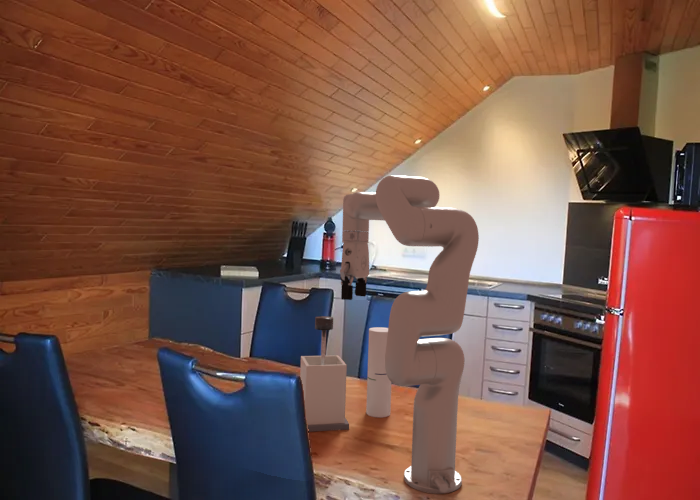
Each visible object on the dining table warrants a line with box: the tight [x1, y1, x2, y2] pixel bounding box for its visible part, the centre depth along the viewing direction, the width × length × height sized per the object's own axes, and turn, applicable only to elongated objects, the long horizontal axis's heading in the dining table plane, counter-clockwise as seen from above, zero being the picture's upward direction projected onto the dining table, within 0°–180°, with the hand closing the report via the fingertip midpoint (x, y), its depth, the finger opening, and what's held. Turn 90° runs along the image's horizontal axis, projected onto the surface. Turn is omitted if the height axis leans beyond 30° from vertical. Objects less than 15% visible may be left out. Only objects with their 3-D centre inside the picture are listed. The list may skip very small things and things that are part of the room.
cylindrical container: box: [365, 326, 392, 418], centre depth 166 cm, size 7×7×25 cm
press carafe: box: [299, 354, 350, 432], centre depth 158 cm, size 13×13×18 cm
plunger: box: [314, 315, 334, 365], centre depth 157 cm, size 9×9×22 cm
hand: (353, 297), depth 161 cm, fingers open, 9 cm apart
